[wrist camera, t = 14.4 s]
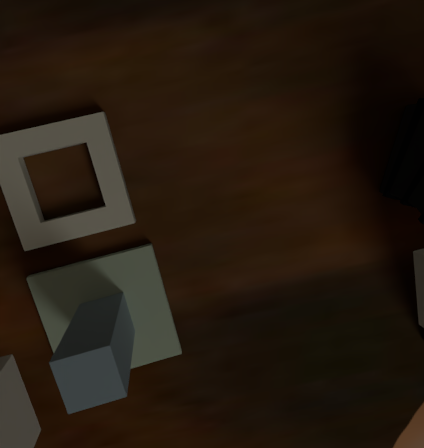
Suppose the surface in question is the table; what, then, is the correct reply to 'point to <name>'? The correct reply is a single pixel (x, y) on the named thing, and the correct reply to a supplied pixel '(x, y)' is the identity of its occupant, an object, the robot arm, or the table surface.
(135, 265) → the pad
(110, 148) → the pocket collar
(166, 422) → the table surface
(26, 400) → the robot arm
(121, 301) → the slate block
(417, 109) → the black slab
